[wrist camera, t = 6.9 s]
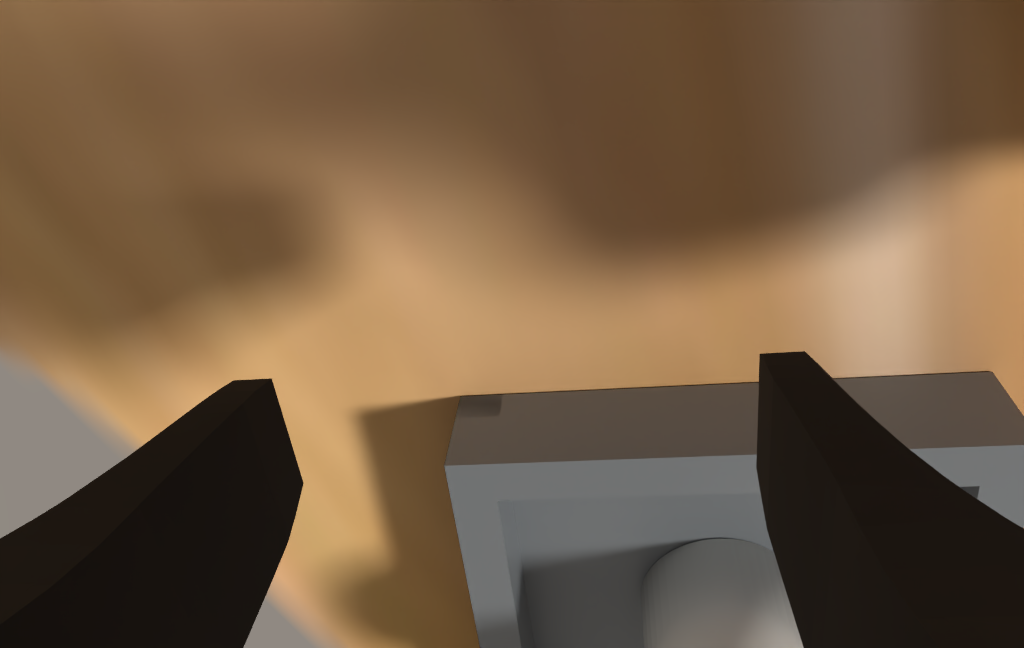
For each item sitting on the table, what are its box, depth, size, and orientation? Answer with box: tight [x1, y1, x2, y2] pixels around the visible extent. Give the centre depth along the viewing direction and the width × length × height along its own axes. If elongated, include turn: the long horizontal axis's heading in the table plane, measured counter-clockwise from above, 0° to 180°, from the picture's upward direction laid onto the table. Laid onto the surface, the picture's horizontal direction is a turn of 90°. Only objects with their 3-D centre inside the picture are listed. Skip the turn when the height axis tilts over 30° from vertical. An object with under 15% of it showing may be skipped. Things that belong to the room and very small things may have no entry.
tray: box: [444, 372, 1024, 648], centre depth 26 cm, size 14×14×3 cm
